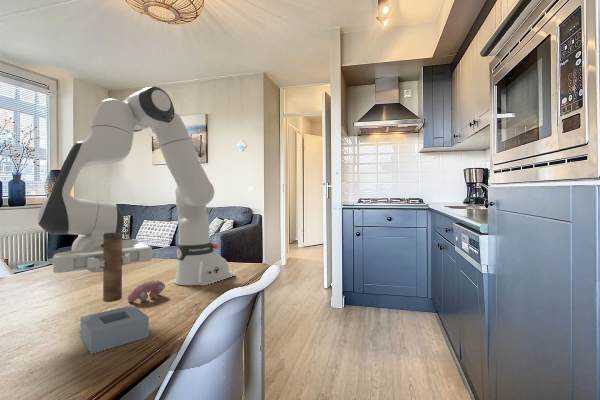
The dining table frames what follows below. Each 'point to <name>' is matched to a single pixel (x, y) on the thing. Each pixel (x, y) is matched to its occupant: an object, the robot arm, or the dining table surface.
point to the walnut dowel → (112, 267)
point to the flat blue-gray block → (113, 328)
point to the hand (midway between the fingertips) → (113, 262)
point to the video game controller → (146, 291)
